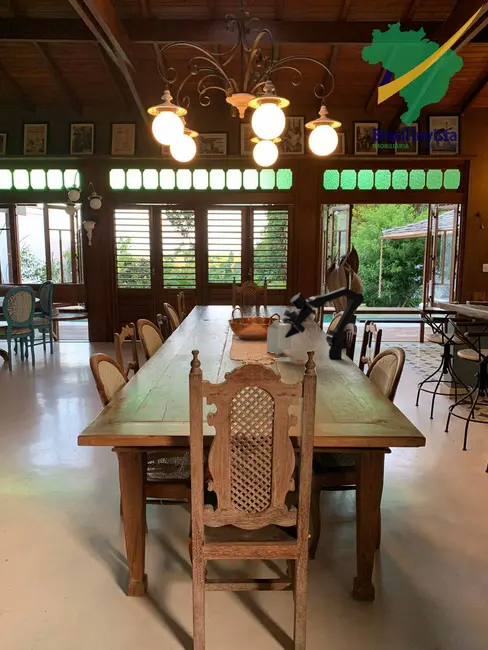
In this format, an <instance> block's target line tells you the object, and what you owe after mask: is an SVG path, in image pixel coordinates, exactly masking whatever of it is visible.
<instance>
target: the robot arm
mask: <svg viewBox="0 0 488 650" xmlns="http://www.w3.org/2000/svg"><path fill="white" fill-rule="evenodd" d="M341 297H345V298H347V303H346V307H345V309H344V310H343V312H342V314H341V316H340V317H339V320H338V322H337V324H336V325H335V327H334V328H333V329H329V330H328V333H327V334H326V335H325V336H326V338H325V341H326V343H328V344H327V345H328V347H330V348H329V349H328V358H329V359H330V360H339V361H340V360H343V357H342V356H343V349H344V348H345V345H346V344H344V342H343V341H342V340H343V334H344V333H343V332H344V330H345V328H346V327H347V325H348V323H349V321H350V319H352V316H353V315H354V313H355V310H357V309H358V308H359V307H360V306H361V305H362V303H363V302H364V301H365V297H364V295H363V294H362V293H359V292H355V291H354V290H351V289H350V288H348V287H344V286H343V287H340V288H338V289H336V290H333V291H330V292H327V293H325V294H322V295H321V294H320V295H313V296H311V297H308V298H305V297H304V296H303V294H302V293H300V292H299V293H297V294H296V295H294V296H293V297H292V298H291V299H290V303H291V304H292V305H293V306H294V308H296V309H297V310H299V311H298V312H296V311H294V310H288V309H285V311H284V313H283V316H285V317H284V318H283V319H282V322H283V323H282V324H291V329H290V330H289V331H288V333H287V334H286V335H285V338H288V337H290V336H292V337H294V335H298V334H301V333H302V334H303V333H304V332H305V331H306V328H305V326H304V325H303V323H306V322H307V320H308V318H309V317H310V316H311V315H313V316H317V313H316V311H317V310H316V309H319V308H321V307H323V306H324V305H325V304H326V303H328V302H331V301H334V300H337V299H339V298H341ZM314 308H315V309H314Z"/></svg>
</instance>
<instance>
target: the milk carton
mask: <svg viewBox="0 0 488 650" xmlns="http://www.w3.org/2000/svg"><path fill="white" fill-rule="evenodd" d="M279 324H282V323H281V322H279V319H276V320H273V322H272V323H271V324H270V325H269V326H268V327H267V331H266V332H267V333H266V334H267V335H266V353H267V352H274V353H279V354H278V355H280V354H282V353H283V352H284V349H280V348H278V332H279Z"/></svg>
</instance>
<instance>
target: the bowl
mask: <svg viewBox="0 0 488 650" xmlns="http://www.w3.org/2000/svg"><path fill="white" fill-rule="evenodd" d="M295 365H297V366H303V365H305V359H301V358H296V359H295Z"/></svg>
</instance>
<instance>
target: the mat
mask: <svg viewBox="0 0 488 650" xmlns="http://www.w3.org/2000/svg"><path fill="white" fill-rule="evenodd" d="M279 357H280V359H278V360H275V361H274V362H291V357H287V356H286V357H285V356H284V357H283V356H279Z"/></svg>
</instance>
